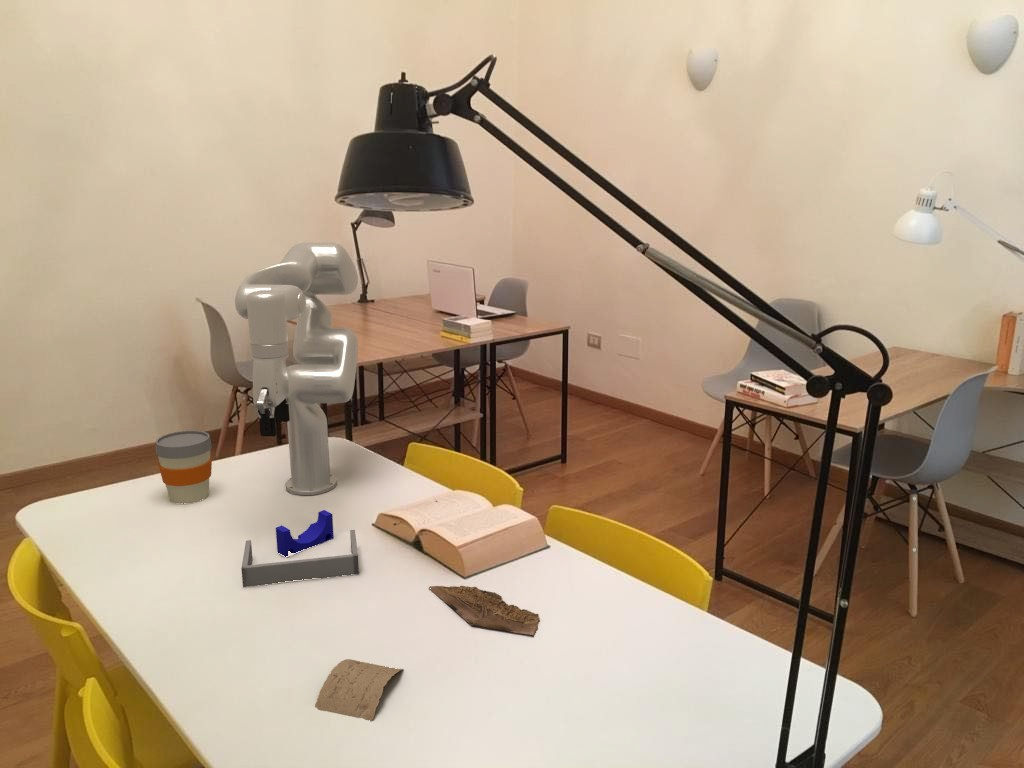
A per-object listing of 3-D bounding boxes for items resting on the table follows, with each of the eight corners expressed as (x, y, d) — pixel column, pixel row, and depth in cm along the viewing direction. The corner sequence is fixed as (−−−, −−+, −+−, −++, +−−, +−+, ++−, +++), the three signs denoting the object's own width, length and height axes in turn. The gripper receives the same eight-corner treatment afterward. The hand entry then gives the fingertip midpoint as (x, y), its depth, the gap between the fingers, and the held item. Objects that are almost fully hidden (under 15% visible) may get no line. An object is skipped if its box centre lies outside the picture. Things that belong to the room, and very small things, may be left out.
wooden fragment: (555, 624, 141) (555, 619, 141) (514, 651, 133) (514, 646, 133) (454, 576, 158) (454, 571, 157) (412, 597, 150) (412, 592, 149)
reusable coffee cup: (205, 507, 187) (198, 447, 183) (152, 507, 187) (144, 447, 183) (224, 486, 199) (218, 430, 195) (174, 486, 199) (168, 429, 195)
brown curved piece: (372, 727, 115) (371, 711, 115) (308, 716, 118) (307, 700, 117) (407, 668, 129) (406, 654, 128) (349, 659, 131) (349, 645, 131)
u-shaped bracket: (247, 558, 163) (245, 540, 162) (355, 546, 168) (354, 529, 167) (243, 587, 152) (241, 568, 151) (359, 574, 157) (358, 555, 156)
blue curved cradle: (321, 532, 175) (320, 507, 173) (333, 539, 172) (332, 513, 171) (273, 551, 166) (271, 525, 165) (285, 558, 164) (283, 532, 162)
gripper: (264, 341, 172) (270, 416, 177) (237, 359, 156) (244, 441, 160) (298, 341, 172) (303, 416, 177) (275, 360, 156) (281, 442, 160)
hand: (275, 428), depth 169 cm, fingers open, 9 cm apart
